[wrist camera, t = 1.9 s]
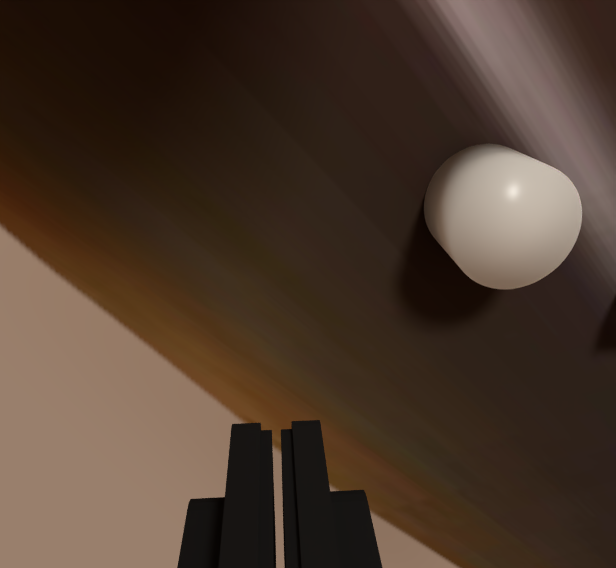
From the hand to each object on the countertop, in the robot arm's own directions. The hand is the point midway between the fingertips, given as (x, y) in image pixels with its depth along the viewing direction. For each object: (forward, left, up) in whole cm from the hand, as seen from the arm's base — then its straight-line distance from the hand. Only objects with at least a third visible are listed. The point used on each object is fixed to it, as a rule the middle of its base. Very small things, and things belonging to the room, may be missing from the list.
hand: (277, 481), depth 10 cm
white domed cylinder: (0, +11, -19) cm, 22 cm away
